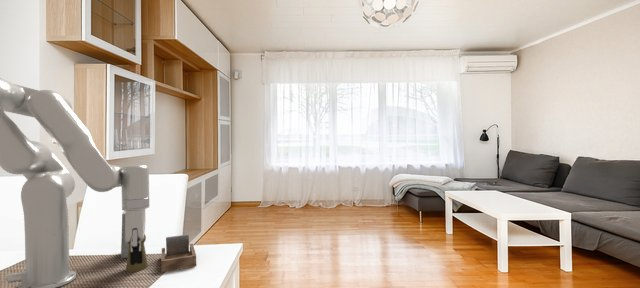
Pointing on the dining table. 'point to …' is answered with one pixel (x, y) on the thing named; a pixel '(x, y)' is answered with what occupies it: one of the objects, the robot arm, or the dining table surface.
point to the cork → (144, 260)
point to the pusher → (177, 244)
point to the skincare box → (124, 245)
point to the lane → (178, 260)
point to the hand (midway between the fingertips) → (137, 261)
